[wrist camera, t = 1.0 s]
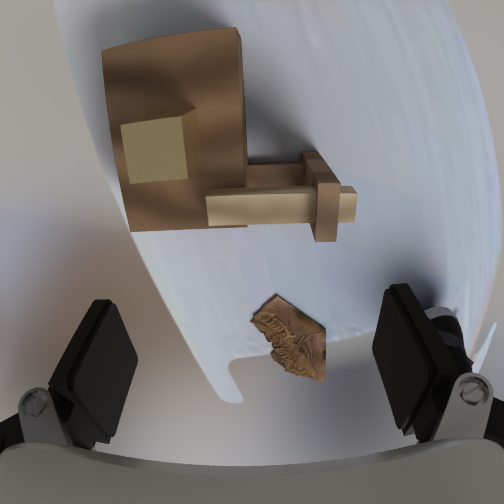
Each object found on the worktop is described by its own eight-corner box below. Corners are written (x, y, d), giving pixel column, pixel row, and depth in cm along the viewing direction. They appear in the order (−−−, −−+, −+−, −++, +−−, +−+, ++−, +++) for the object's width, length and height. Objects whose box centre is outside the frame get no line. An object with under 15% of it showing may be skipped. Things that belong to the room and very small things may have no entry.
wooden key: (208, 189, 30) (205, 196, 28) (351, 186, 30) (357, 193, 28) (211, 216, 32) (208, 225, 30) (349, 213, 31) (354, 222, 29)
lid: (108, 51, 24) (69, 49, 18) (237, 30, 24) (229, 14, 17) (135, 225, 35) (110, 261, 28) (247, 219, 34) (244, 258, 28)
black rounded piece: (422, 281, 46) (474, 376, 29) (455, 301, 49) (502, 385, 32) (382, 325, 51) (415, 422, 34) (418, 340, 54) (451, 425, 37)
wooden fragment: (241, 303, 49) (241, 308, 48) (308, 282, 47) (309, 287, 46) (291, 387, 62) (292, 391, 61) (342, 373, 59) (343, 377, 58)
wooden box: (132, 53, 30) (83, 49, 20) (316, 37, 29) (342, 21, 19) (151, 202, 40) (118, 248, 30) (316, 196, 39) (335, 242, 29)
